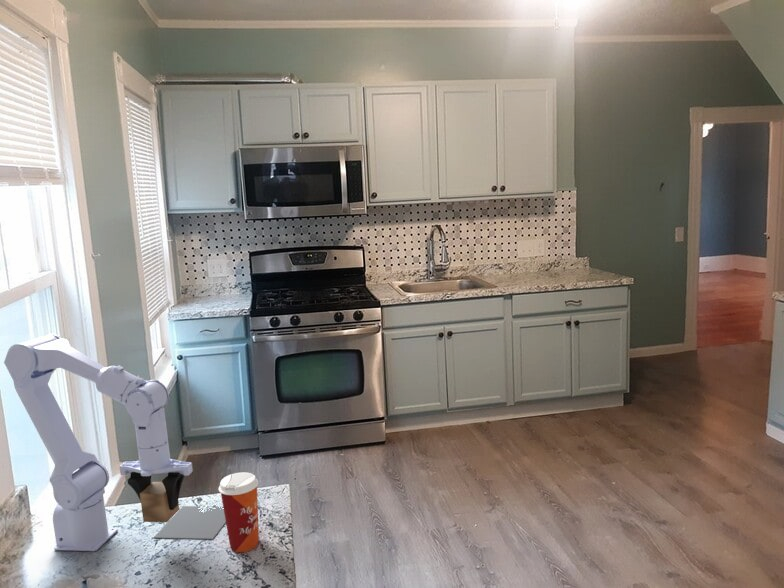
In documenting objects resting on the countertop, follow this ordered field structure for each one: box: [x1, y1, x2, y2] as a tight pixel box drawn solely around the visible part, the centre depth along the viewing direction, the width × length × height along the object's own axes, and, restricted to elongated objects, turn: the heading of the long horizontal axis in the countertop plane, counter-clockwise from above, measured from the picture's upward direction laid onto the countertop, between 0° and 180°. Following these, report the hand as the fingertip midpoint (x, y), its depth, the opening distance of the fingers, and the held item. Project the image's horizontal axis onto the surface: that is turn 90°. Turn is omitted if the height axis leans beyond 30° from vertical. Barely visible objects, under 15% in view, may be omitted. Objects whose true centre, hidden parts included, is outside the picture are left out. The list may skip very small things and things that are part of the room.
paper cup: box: [218, 471, 260, 553], centre depth 122 cm, size 8×8×14 cm
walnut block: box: [139, 481, 180, 523], centre depth 123 cm, size 5×5×6 cm
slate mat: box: [153, 505, 226, 540], centre depth 133 cm, size 13×13×1 cm
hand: (160, 507), depth 124 cm, fingers closed on walnut block, 5 cm apart
